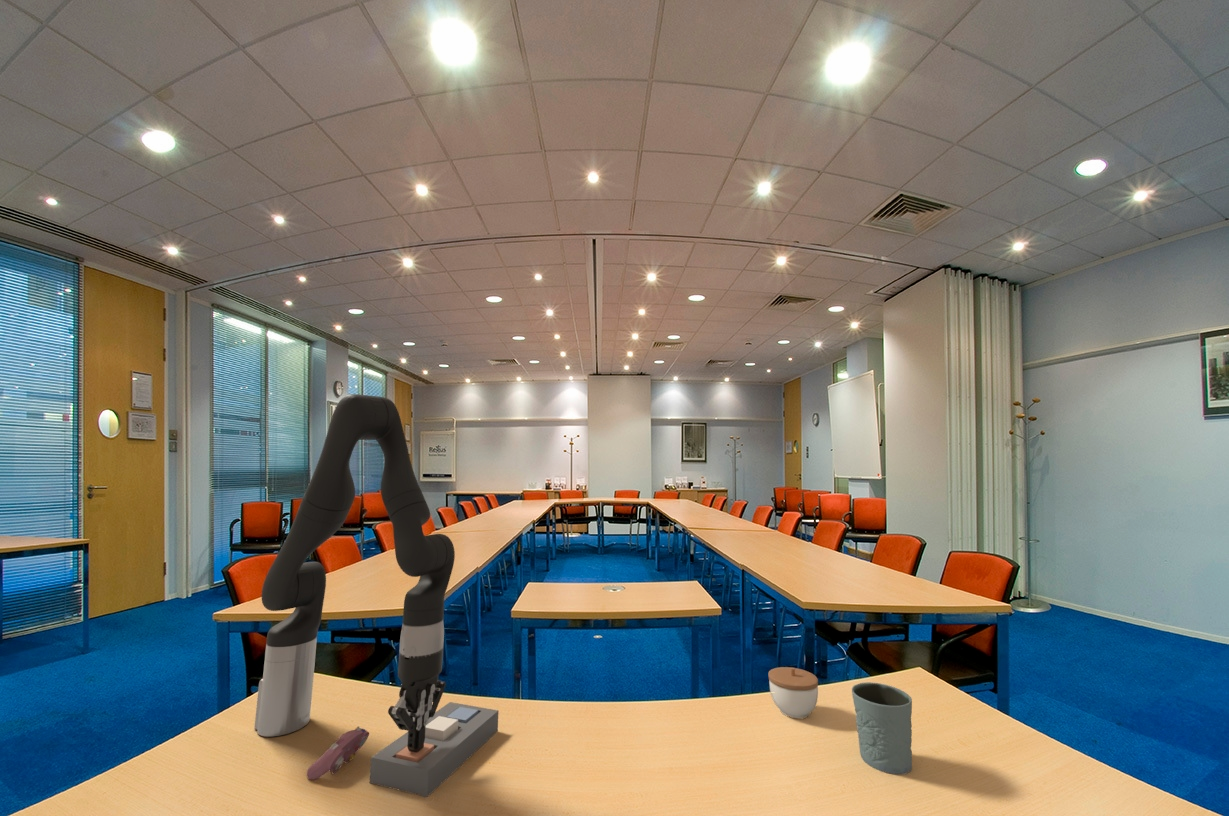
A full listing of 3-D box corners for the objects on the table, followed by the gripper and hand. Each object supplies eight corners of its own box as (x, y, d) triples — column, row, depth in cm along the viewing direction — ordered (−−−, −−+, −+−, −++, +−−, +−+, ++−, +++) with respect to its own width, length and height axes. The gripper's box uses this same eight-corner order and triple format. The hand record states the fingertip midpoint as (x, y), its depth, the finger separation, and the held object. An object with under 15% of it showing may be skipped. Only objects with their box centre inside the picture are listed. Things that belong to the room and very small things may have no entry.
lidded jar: (762, 702, 114) (760, 660, 115) (804, 700, 115) (803, 658, 117) (782, 725, 104) (780, 678, 105) (829, 722, 105) (827, 676, 106)
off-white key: (422, 741, 91) (423, 727, 91) (438, 729, 95) (438, 716, 95) (442, 745, 89) (443, 731, 90) (457, 733, 94) (458, 719, 94)
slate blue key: (445, 730, 97) (446, 716, 98) (459, 719, 101) (459, 706, 102) (464, 733, 96) (465, 720, 96) (477, 722, 100) (478, 710, 100)
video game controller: (320, 793, 83) (340, 756, 83) (301, 777, 84) (320, 740, 84) (360, 760, 92) (378, 727, 93) (343, 746, 93) (360, 713, 94)
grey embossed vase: (909, 752, 94) (904, 686, 95) (924, 783, 84) (918, 709, 86) (852, 742, 97) (848, 679, 99) (859, 771, 87) (855, 700, 89)
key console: (369, 782, 83) (371, 757, 84) (449, 721, 104) (450, 702, 105) (427, 796, 80) (428, 770, 80) (497, 731, 100) (498, 710, 101)
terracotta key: (395, 769, 84) (396, 754, 84) (413, 755, 88) (413, 740, 89) (416, 774, 83) (417, 758, 83) (433, 760, 87) (434, 745, 87)
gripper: (428, 633, 96) (423, 728, 93) (377, 657, 83) (369, 767, 81) (461, 637, 93) (456, 734, 91) (413, 662, 81) (406, 775, 78)
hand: (415, 749), depth 86 cm, fingers closed
